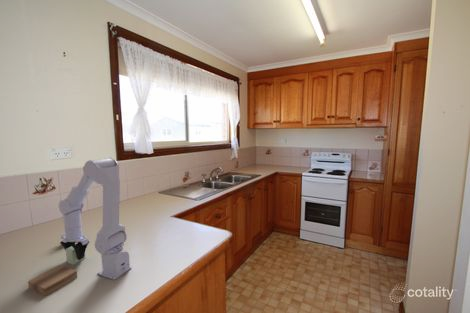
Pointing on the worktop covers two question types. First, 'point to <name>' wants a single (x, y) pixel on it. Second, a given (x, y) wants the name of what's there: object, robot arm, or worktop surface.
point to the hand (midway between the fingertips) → (76, 257)
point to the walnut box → (52, 280)
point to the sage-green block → (72, 256)
